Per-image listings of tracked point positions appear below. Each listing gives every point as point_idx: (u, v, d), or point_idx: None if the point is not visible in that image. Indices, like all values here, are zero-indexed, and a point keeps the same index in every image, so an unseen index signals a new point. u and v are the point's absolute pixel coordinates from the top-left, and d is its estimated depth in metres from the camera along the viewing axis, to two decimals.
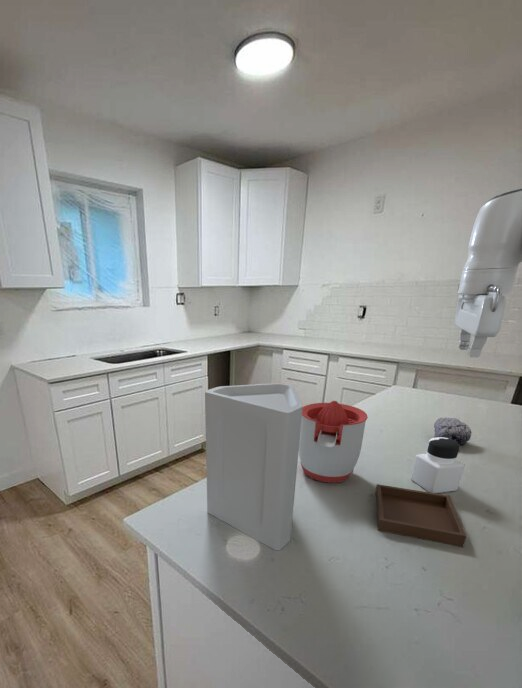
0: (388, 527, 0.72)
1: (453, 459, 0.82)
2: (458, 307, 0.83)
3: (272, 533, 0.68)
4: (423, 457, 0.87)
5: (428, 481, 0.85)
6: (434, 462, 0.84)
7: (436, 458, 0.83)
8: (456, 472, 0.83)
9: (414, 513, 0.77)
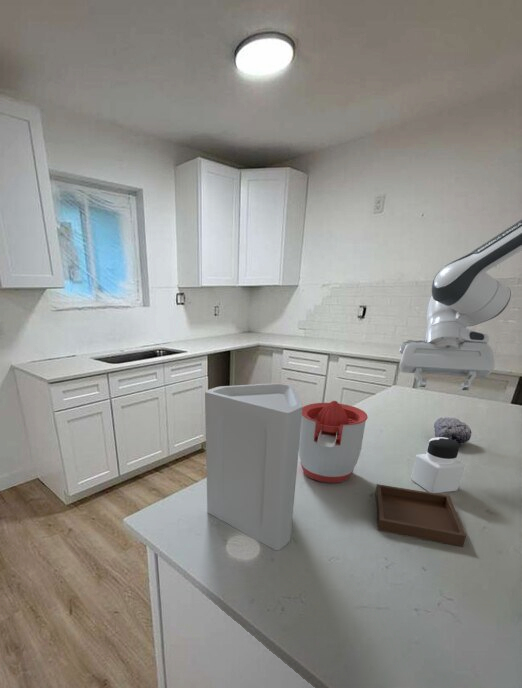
0: (388, 527, 0.72)
1: (453, 459, 0.82)
2: None
3: (272, 533, 0.68)
4: (423, 457, 0.87)
5: (428, 481, 0.85)
6: (434, 462, 0.84)
7: (436, 458, 0.83)
8: (456, 472, 0.83)
9: (414, 513, 0.77)
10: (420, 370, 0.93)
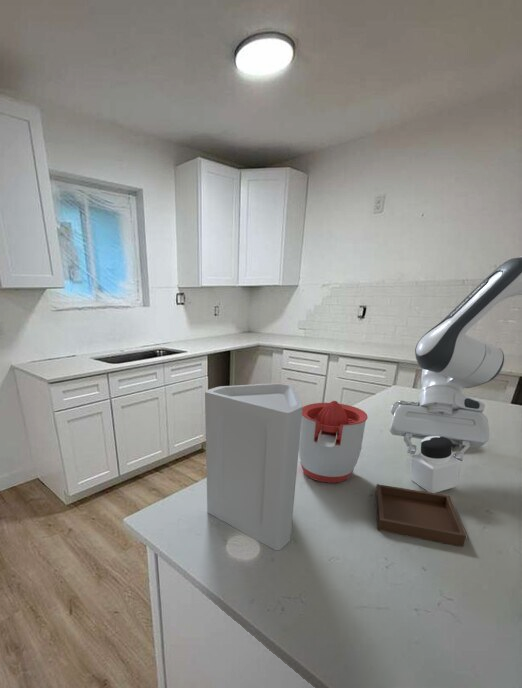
0: (388, 527, 0.72)
1: (447, 458, 0.82)
2: None
3: (272, 533, 0.68)
4: (418, 457, 0.86)
5: (426, 482, 0.85)
6: (429, 463, 0.84)
7: (430, 459, 0.83)
8: (453, 470, 0.83)
9: (414, 513, 0.77)
10: (410, 435, 0.88)
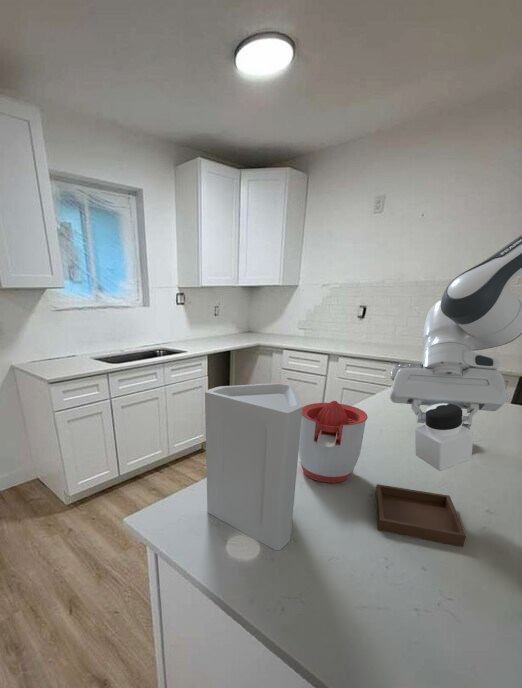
0: (388, 527, 0.72)
1: (457, 428, 0.70)
2: None
3: (272, 533, 0.68)
4: (423, 430, 0.74)
5: (433, 457, 0.73)
6: (435, 435, 0.72)
7: (436, 431, 0.71)
8: (464, 442, 0.71)
9: (414, 513, 0.77)
10: (419, 402, 0.76)
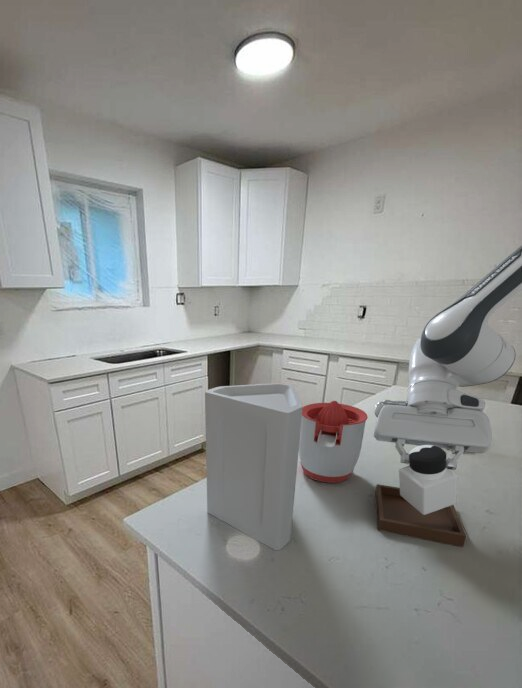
0: (388, 527, 0.72)
1: (441, 473, 0.67)
2: None
3: (272, 533, 0.68)
4: (407, 472, 0.72)
5: (417, 501, 0.71)
6: (419, 479, 0.69)
7: (420, 475, 0.69)
8: (448, 486, 0.68)
9: (414, 513, 0.77)
10: (403, 442, 0.74)
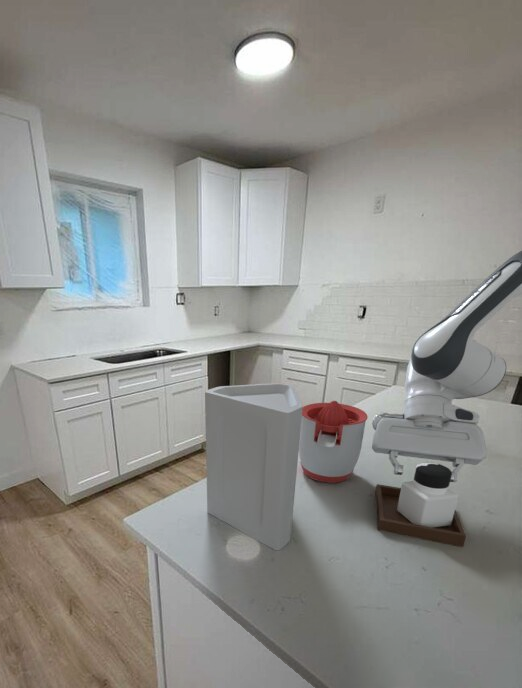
0: (388, 527, 0.72)
1: (444, 489, 0.70)
2: None
3: (272, 533, 0.68)
4: (410, 485, 0.74)
5: (416, 514, 0.72)
6: (422, 492, 0.71)
7: (424, 487, 0.71)
8: (448, 504, 0.71)
9: None
10: (396, 454, 0.76)
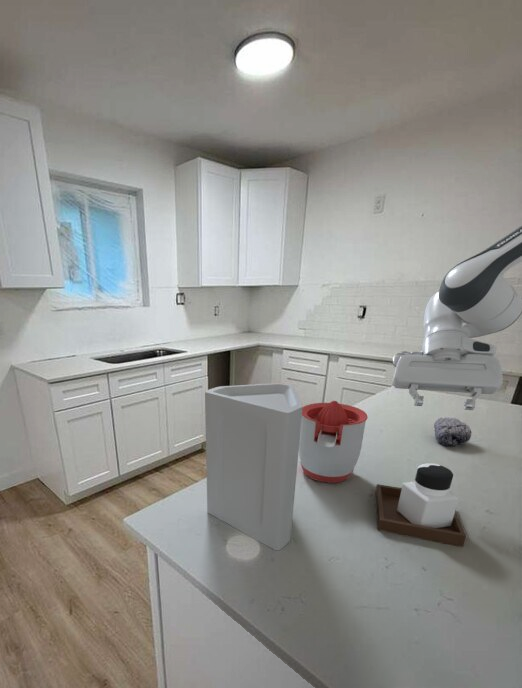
0: (388, 527, 0.72)
1: (445, 491, 0.70)
2: None
3: (272, 533, 0.68)
4: (411, 486, 0.74)
5: (416, 515, 0.72)
6: (423, 493, 0.71)
7: (425, 489, 0.71)
8: (449, 506, 0.70)
9: None
10: (416, 386, 0.80)
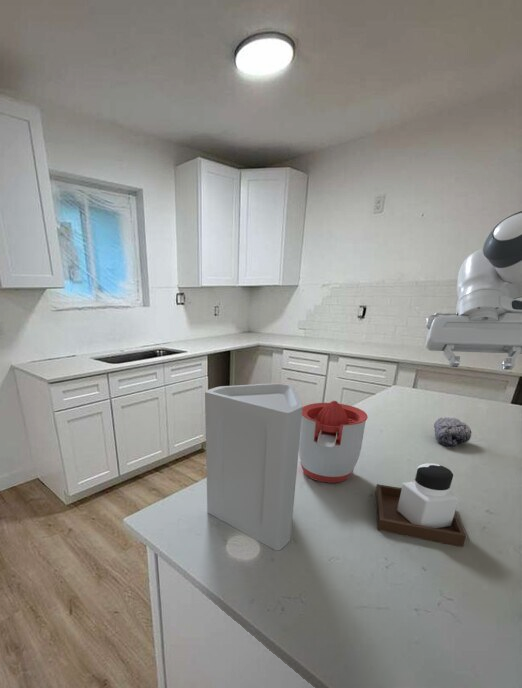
0: (388, 527, 0.72)
1: (445, 491, 0.70)
2: None
3: (272, 533, 0.68)
4: (411, 486, 0.74)
5: (416, 515, 0.72)
6: (423, 493, 0.71)
7: (425, 489, 0.71)
8: (449, 506, 0.70)
9: None
10: (452, 347, 0.78)
